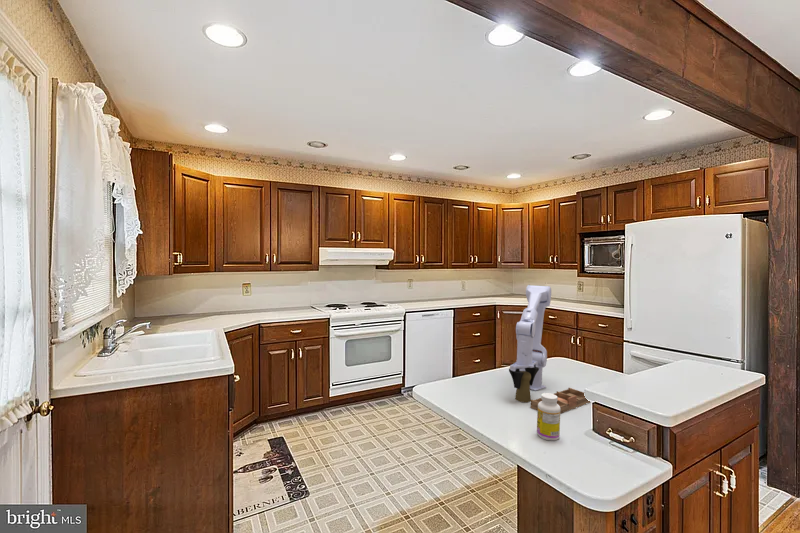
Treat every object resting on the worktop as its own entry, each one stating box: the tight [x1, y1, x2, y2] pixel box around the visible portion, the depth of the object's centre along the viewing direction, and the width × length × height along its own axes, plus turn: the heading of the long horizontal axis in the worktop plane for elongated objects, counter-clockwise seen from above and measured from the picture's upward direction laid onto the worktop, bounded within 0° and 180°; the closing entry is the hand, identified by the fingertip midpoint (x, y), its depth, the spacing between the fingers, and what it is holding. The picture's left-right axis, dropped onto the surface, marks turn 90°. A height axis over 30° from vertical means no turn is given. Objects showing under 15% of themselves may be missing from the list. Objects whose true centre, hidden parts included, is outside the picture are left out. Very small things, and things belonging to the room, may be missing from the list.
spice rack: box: [530, 387, 591, 415], centre depth 139 cm, size 9×25×4 cm, turn 124°
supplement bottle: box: [536, 392, 561, 441], centre depth 114 cm, size 7×7×13 cm
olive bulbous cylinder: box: [514, 371, 532, 404], centre depth 144 cm, size 6×6×11 cm
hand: (523, 386), depth 144 cm, fingers open, 7 cm apart
